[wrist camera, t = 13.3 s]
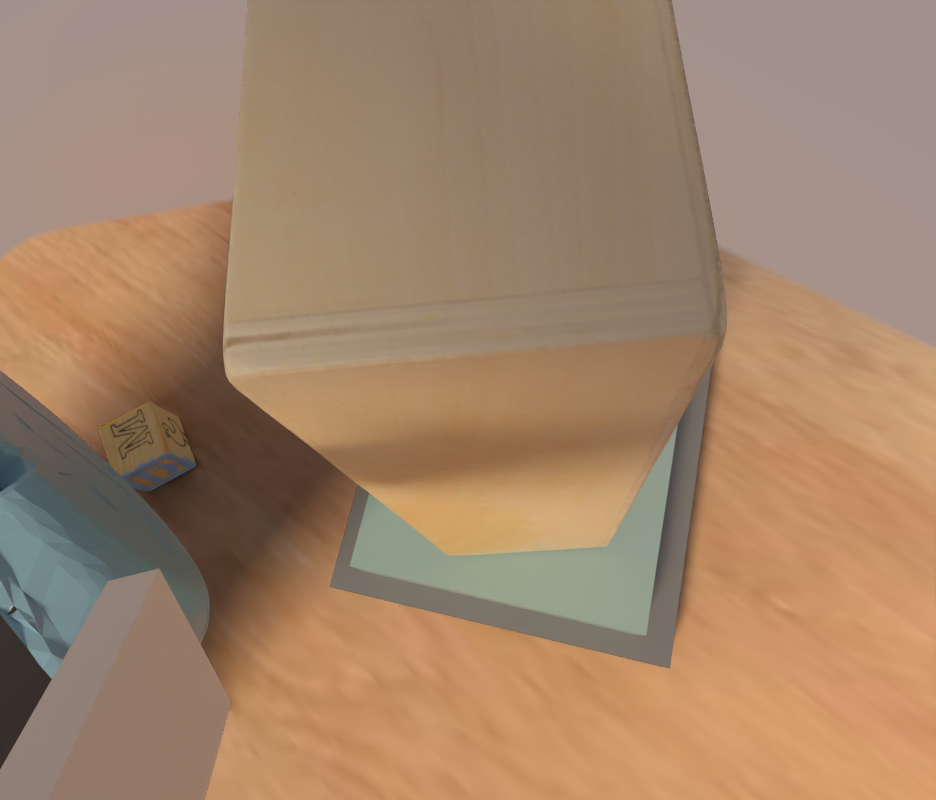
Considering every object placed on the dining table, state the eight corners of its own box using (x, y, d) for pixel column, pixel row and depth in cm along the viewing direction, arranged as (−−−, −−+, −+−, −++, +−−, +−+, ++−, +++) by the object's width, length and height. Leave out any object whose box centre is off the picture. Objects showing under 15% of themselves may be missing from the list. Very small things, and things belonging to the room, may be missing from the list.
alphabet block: (146, 494, 37) (112, 482, 34) (128, 443, 38) (94, 427, 35) (199, 467, 37) (170, 453, 34) (180, 416, 38) (150, 398, 35)
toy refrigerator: (421, 374, 32) (207, -68, 12) (589, 361, 31) (665, -130, 11) (426, 558, 29) (163, 395, 9) (609, 547, 28) (753, 349, 8)
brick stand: (344, 590, 34) (308, 582, 29) (419, 309, 39) (399, 259, 33) (660, 665, 32) (682, 672, 27) (704, 357, 36) (731, 311, 31)
